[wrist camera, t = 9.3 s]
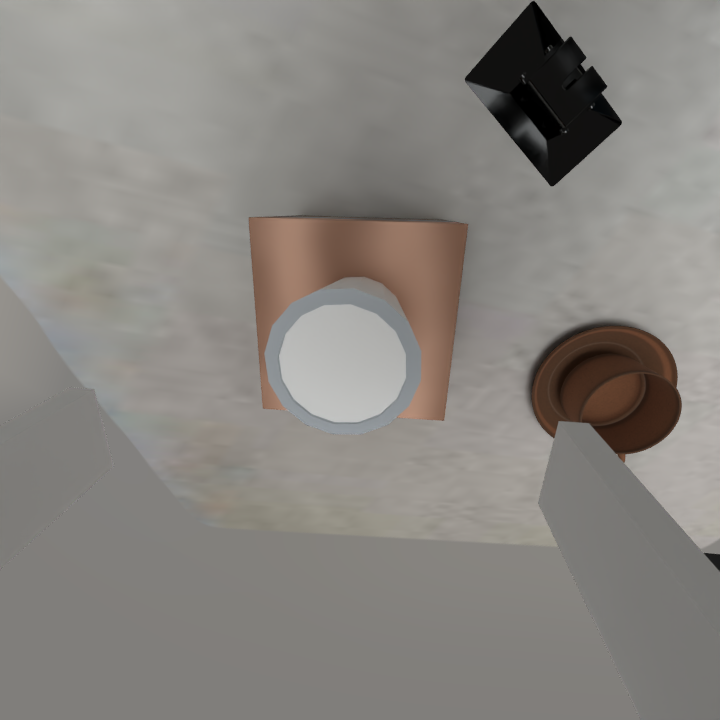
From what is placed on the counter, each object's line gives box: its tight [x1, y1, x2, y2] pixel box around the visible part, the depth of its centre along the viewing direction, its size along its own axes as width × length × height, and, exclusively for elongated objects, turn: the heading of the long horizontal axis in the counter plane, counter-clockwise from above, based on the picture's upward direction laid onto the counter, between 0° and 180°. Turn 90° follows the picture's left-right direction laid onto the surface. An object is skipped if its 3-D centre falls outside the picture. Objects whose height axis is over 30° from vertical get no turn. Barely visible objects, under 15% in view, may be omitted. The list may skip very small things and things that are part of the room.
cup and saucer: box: [532, 326, 682, 463], centre depth 33 cm, size 12×12×6 cm
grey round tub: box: [264, 277, 421, 434], centre depth 20 cm, size 7×7×7 cm
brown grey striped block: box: [249, 216, 468, 421], centre depth 28 cm, size 12×12×12 cm
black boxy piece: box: [465, 1, 622, 186], centre depth 26 cm, size 13×8×5 cm, turn 46°
